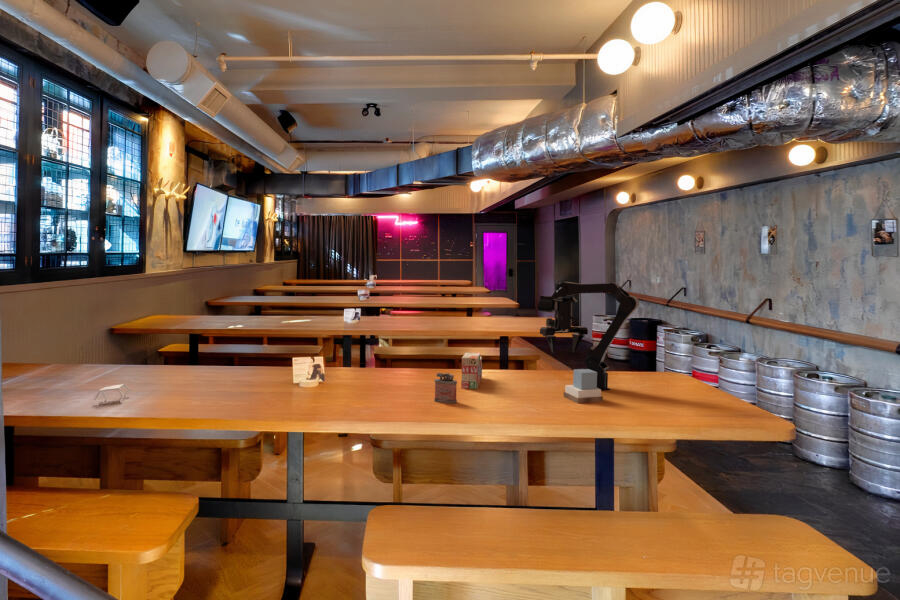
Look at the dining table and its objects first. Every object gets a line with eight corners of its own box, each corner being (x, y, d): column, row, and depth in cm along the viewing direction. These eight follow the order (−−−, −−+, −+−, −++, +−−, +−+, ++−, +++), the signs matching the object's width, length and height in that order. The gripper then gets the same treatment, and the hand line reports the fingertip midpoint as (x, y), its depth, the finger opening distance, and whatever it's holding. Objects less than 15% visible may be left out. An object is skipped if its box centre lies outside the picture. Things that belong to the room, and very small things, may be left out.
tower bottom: (587, 396, 198) (588, 390, 198) (602, 403, 188) (603, 396, 188) (563, 398, 195) (563, 391, 195) (577, 405, 186) (577, 398, 185)
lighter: (458, 401, 186) (458, 373, 186) (454, 403, 183) (455, 374, 182) (436, 399, 189) (436, 371, 188) (432, 401, 186) (433, 373, 185)
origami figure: (117, 405, 177) (117, 390, 177) (92, 405, 177) (91, 390, 177) (138, 396, 189) (138, 382, 189) (114, 396, 189) (114, 382, 189)
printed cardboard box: (467, 377, 227) (467, 348, 227) (482, 378, 226) (482, 349, 226) (461, 388, 206) (461, 357, 205) (477, 389, 205) (477, 357, 205)
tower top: (587, 390, 197) (587, 384, 197) (600, 396, 188) (601, 389, 188) (565, 392, 194) (565, 385, 194) (578, 398, 186) (578, 390, 186)
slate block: (588, 385, 195) (588, 369, 194) (596, 389, 189) (597, 372, 188) (573, 386, 193) (573, 369, 193) (581, 389, 187) (581, 372, 187)
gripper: (575, 311, 223) (574, 348, 224) (534, 311, 218) (533, 350, 219) (589, 313, 213) (588, 352, 214) (546, 314, 207) (545, 354, 208)
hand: (563, 352), depth 214 cm, fingers open, 9 cm apart
